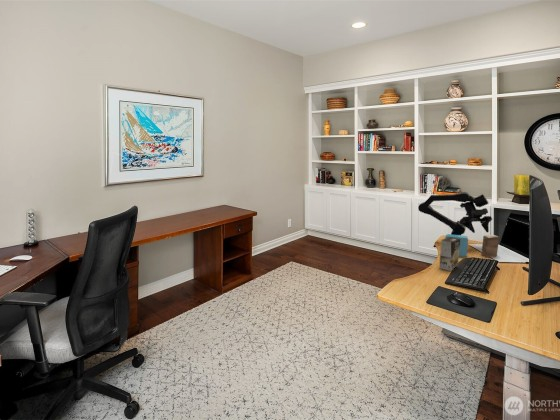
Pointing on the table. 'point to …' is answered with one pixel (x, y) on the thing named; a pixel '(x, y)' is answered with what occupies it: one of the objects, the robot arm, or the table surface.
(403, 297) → the table surface
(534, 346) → the table surface
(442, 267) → the coffee box
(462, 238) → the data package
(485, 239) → the walnut block
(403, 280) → the table surface
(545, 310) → the table surface
